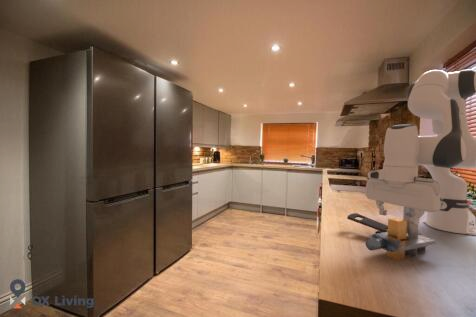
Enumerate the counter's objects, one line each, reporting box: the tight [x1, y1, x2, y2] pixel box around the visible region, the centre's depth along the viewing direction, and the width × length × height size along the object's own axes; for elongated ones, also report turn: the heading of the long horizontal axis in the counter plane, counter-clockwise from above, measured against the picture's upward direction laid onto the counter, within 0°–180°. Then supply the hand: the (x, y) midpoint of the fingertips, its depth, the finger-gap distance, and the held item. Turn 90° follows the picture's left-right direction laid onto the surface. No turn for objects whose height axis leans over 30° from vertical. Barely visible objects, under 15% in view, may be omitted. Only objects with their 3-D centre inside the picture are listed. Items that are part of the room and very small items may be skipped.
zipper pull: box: [346, 212, 427, 254], centre depth 83 cm, size 9×7×25 cm
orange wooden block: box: [386, 217, 406, 261], centre depth 69 cm, size 4×3×12 cm
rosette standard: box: [364, 206, 437, 258], centre depth 68 cm, size 23×10×18 cm, turn 112°
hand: (397, 219), depth 69 cm, fingers open, 8 cm apart
